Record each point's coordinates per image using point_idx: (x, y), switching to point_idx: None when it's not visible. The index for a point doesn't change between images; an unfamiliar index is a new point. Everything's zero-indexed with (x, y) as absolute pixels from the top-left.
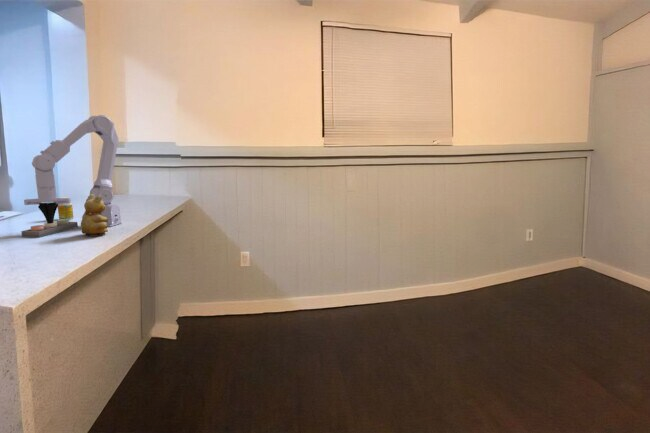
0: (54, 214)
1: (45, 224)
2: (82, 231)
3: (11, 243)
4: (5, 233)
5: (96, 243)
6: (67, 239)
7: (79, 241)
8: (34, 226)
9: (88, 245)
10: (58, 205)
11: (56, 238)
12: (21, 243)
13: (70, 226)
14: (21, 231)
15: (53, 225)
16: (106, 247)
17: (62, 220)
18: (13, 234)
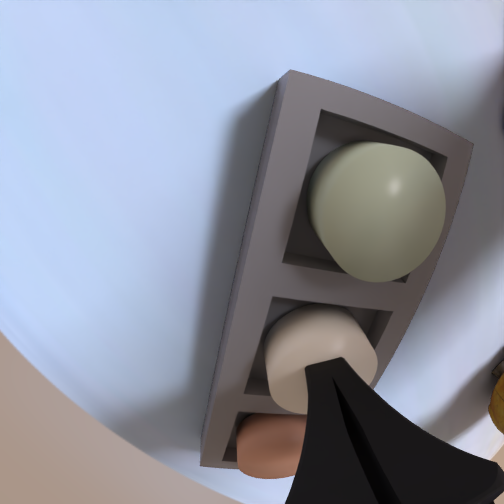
0: (391, 411)
1: (298, 410)
2: (492, 418)
3: (248, 494)
4: (25, 357)
5: (495, 433)
6: (434, 435)
7: (465, 437)
8: (263, 466)
9: (477, 449)
10: None
11: None
12: (287, 492)
13: None
14: (201, 465)
15: None
16: (501, 444)
17: (396, 243)
18: (93, 390)
